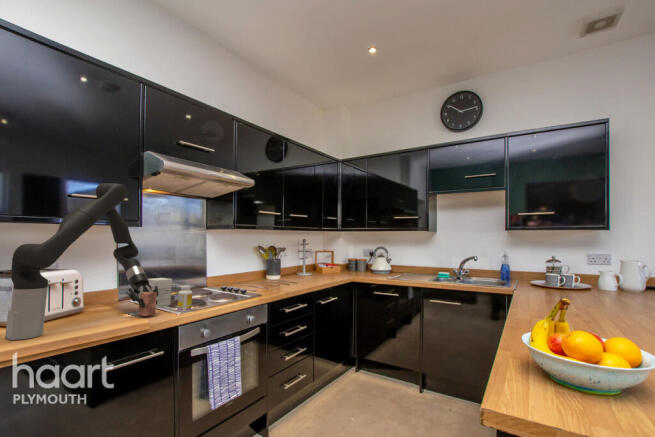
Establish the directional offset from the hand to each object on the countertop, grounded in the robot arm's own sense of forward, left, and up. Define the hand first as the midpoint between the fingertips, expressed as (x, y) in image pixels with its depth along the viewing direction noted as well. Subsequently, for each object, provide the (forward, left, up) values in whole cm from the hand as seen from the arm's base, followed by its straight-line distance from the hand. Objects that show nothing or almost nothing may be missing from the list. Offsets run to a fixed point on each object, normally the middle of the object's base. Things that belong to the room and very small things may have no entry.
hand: (149, 305), depth 145 cm
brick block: (0, +2, -4) cm, 5 cm away
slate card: (0, +12, -6) cm, 13 cm away
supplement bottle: (+19, +1, -6) cm, 20 cm away
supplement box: (+18, +22, -6) cm, 29 cm away
